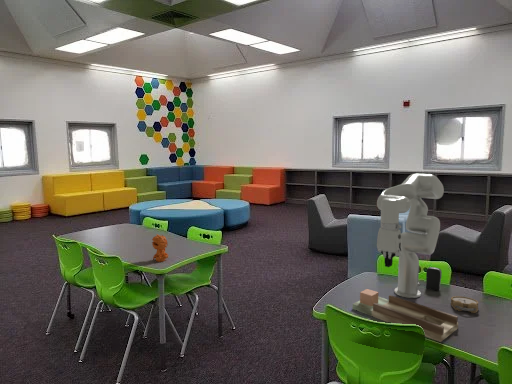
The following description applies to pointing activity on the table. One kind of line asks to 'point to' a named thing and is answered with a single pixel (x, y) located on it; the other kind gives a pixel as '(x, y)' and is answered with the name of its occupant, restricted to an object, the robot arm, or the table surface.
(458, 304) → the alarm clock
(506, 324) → the table surface
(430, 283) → the battery charger
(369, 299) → the block
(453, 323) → the track
